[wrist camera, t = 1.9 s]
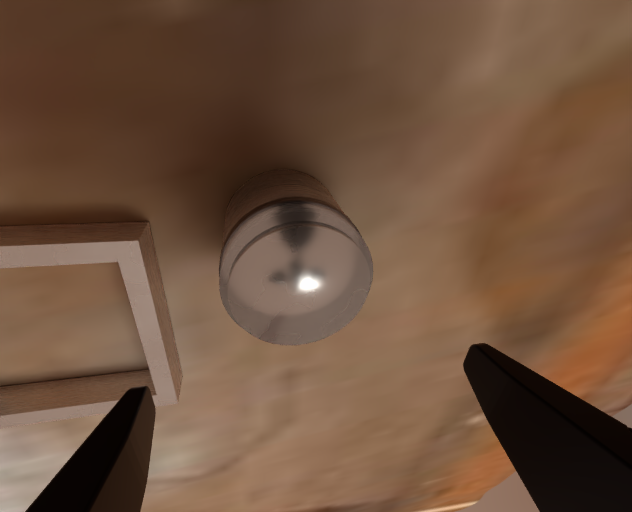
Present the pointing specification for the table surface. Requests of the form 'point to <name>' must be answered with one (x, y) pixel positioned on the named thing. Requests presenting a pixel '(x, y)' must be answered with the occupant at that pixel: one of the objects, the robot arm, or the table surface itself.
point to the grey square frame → (147, 305)
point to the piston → (291, 260)
